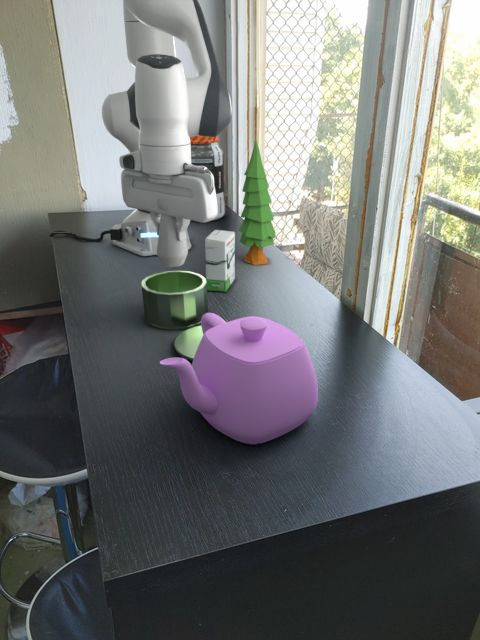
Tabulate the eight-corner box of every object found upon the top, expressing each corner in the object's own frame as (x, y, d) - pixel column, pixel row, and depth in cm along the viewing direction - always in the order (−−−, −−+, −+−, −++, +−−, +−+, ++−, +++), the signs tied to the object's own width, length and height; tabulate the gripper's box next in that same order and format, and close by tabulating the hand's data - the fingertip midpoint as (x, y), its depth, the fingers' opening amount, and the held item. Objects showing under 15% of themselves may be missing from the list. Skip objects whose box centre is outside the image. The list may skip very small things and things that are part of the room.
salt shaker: (193, 261, 102) (190, 193, 96) (179, 270, 98) (175, 200, 91) (166, 257, 104) (161, 190, 98) (152, 266, 99) (146, 196, 93)
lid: (158, 351, 93) (156, 325, 91) (206, 323, 104) (205, 299, 101) (220, 374, 87) (219, 347, 84) (265, 342, 97) (265, 317, 95)
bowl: (131, 319, 105) (127, 284, 101) (173, 299, 114) (171, 266, 110) (179, 336, 99) (177, 299, 95) (219, 313, 108) (219, 279, 104)
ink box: (226, 292, 118) (225, 241, 112) (205, 290, 118) (203, 239, 113) (235, 278, 125) (235, 230, 119) (215, 277, 126) (214, 228, 120)
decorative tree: (250, 253, 142) (251, 134, 127) (282, 258, 138) (287, 137, 124) (233, 264, 134) (232, 139, 120) (267, 270, 131) (270, 142, 116)
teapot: (246, 362, 91) (246, 281, 83) (333, 420, 76) (343, 328, 69) (125, 409, 78) (112, 318, 71) (203, 489, 64) (198, 385, 56)
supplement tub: (234, 216, 175) (234, 133, 162) (198, 225, 165) (195, 137, 152) (203, 208, 184) (200, 128, 172) (167, 215, 174) (162, 132, 161)
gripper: (224, 164, 89) (225, 243, 96) (137, 152, 99) (144, 225, 105) (201, 170, 85) (204, 252, 91) (112, 157, 94) (120, 232, 101)
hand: (171, 237), depth 98 cm, fingers closed on salt shaker, 3 cm apart
